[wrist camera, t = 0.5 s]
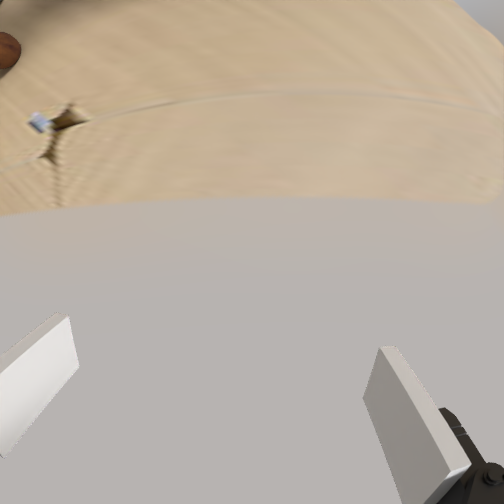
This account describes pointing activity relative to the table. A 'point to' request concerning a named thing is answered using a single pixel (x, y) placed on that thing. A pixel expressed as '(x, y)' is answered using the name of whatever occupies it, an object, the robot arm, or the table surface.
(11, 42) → the wooden figurine
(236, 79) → the table surface
